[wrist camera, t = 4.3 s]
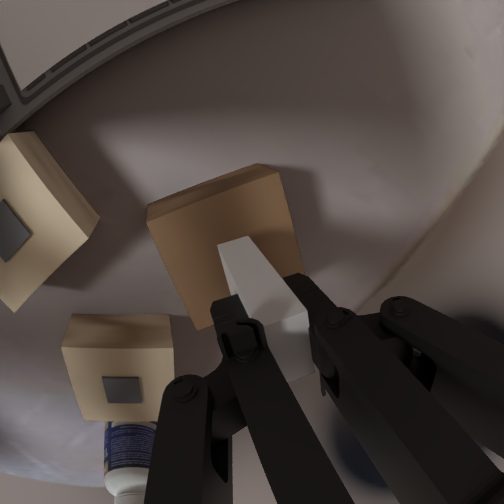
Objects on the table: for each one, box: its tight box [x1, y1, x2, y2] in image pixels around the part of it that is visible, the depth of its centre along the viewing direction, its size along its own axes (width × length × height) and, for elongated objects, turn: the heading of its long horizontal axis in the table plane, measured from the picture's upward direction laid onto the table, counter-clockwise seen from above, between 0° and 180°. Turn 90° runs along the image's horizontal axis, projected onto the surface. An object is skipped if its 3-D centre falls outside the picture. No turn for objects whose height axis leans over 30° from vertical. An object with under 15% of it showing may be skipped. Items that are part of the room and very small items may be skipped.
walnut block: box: [146, 163, 305, 331], centre depth 19 cm, size 7×7×4 cm
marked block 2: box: [61, 314, 174, 422], centre depth 20 cm, size 7×7×4 cm
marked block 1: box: [0, 131, 101, 313], centre depth 14 cm, size 7×7×4 cm
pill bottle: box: [104, 421, 157, 504], centre depth 20 cm, size 5×5×10 cm
